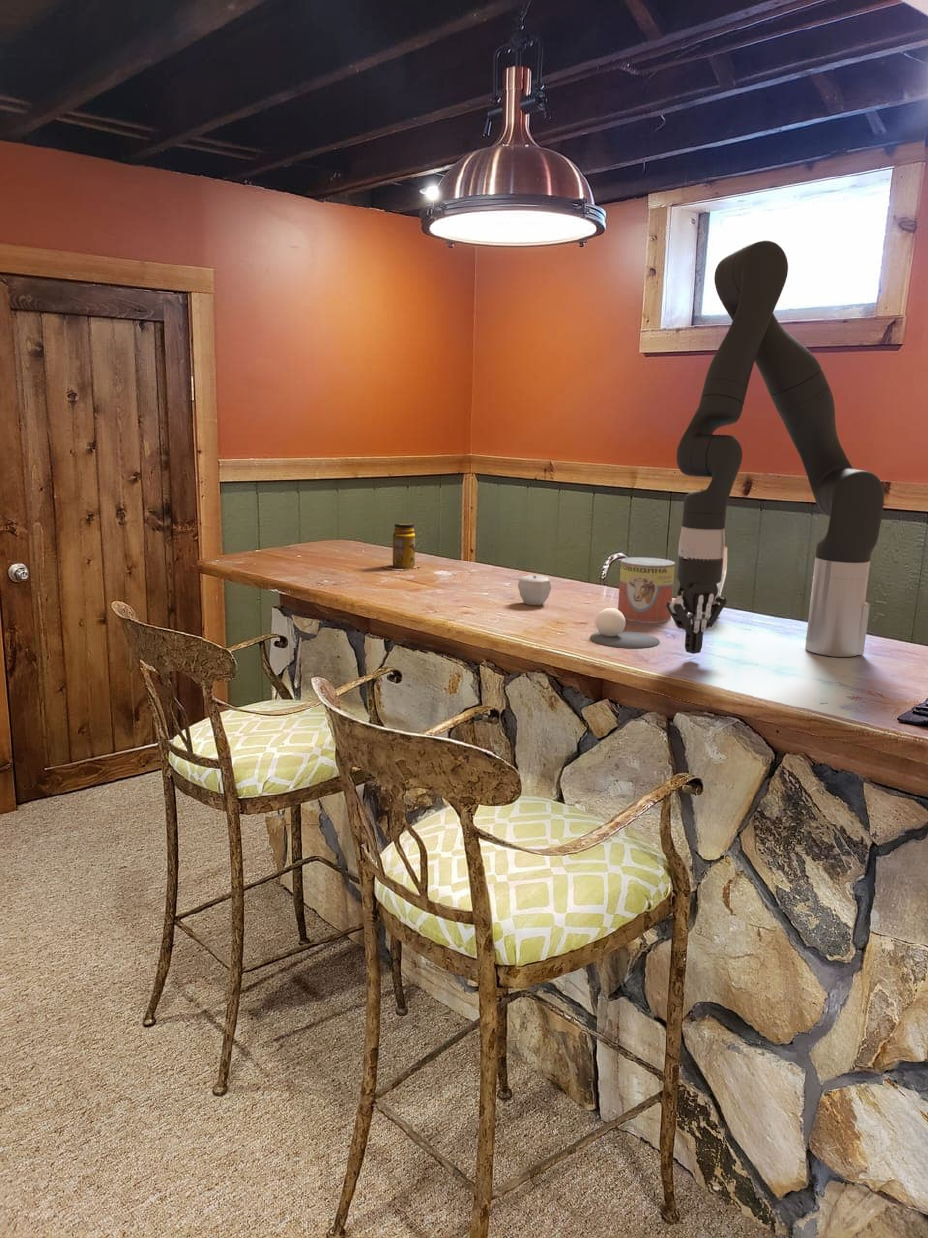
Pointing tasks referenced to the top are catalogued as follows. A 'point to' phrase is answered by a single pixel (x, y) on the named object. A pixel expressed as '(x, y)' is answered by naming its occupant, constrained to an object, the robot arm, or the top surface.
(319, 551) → the top surface
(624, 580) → the canned food
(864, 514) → the robot arm
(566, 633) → the top surface
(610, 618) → the ball
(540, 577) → the apple
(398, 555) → the condiment
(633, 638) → the disc
